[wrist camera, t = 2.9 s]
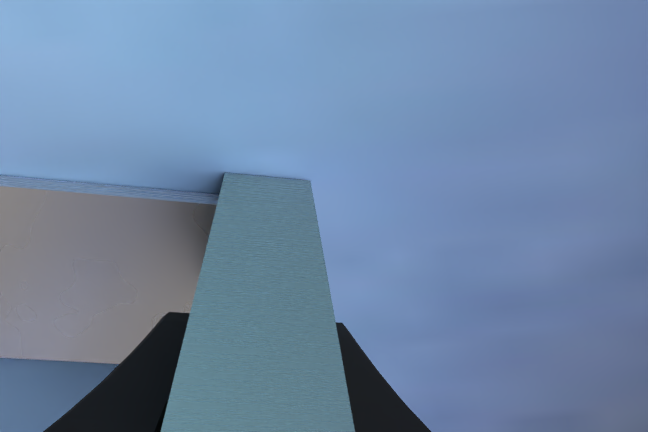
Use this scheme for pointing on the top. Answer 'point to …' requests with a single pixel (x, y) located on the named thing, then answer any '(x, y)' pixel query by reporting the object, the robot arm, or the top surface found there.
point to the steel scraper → (181, 294)
